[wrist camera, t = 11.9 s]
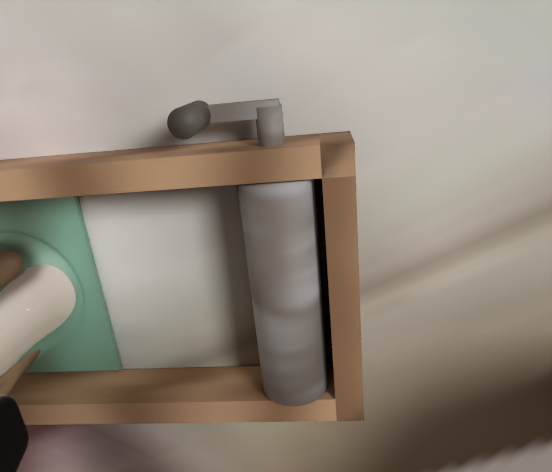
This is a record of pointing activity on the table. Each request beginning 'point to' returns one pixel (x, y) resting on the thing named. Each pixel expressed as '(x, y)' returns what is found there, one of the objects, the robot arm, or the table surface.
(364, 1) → the table surface
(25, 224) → the wooden roller tray
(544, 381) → the table surface
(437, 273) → the table surface
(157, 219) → the table surface
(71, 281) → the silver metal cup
